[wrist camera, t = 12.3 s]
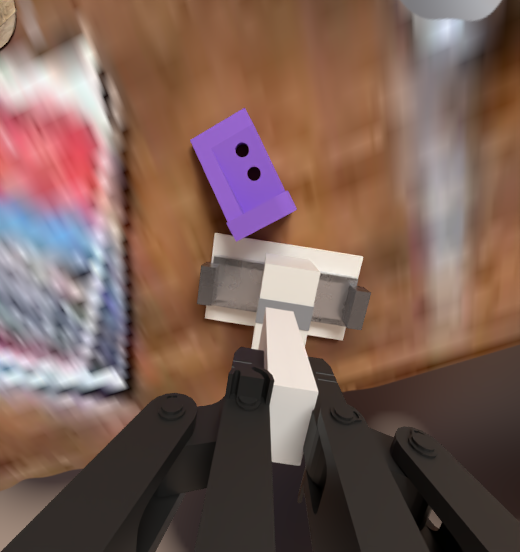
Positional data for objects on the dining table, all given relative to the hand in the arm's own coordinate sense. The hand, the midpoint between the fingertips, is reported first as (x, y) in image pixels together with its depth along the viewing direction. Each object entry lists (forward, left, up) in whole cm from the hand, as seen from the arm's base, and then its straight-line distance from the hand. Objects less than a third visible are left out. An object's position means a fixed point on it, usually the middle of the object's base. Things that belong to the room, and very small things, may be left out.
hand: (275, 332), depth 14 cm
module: (+2, -3, -17) cm, 17 cm away
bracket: (-5, +10, -20) cm, 23 cm away
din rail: (+2, -3, -20) cm, 20 cm away
